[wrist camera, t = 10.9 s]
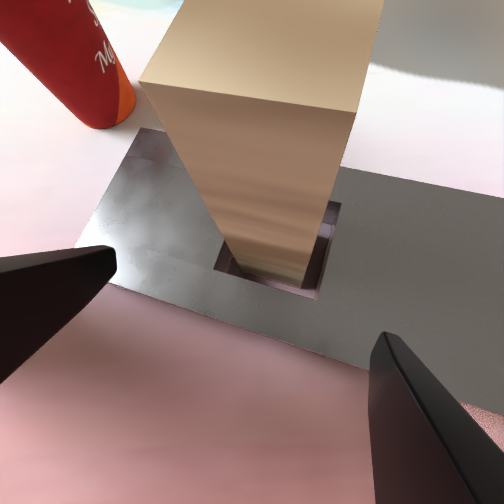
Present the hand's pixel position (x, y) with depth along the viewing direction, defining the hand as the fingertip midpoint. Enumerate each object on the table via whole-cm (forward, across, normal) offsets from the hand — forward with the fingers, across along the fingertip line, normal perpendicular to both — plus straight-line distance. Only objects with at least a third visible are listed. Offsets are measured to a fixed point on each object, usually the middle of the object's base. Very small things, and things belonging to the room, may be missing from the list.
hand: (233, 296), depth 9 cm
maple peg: (+10, 0, +3) cm, 10 cm away
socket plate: (+10, 0, +3) cm, 10 cm away
